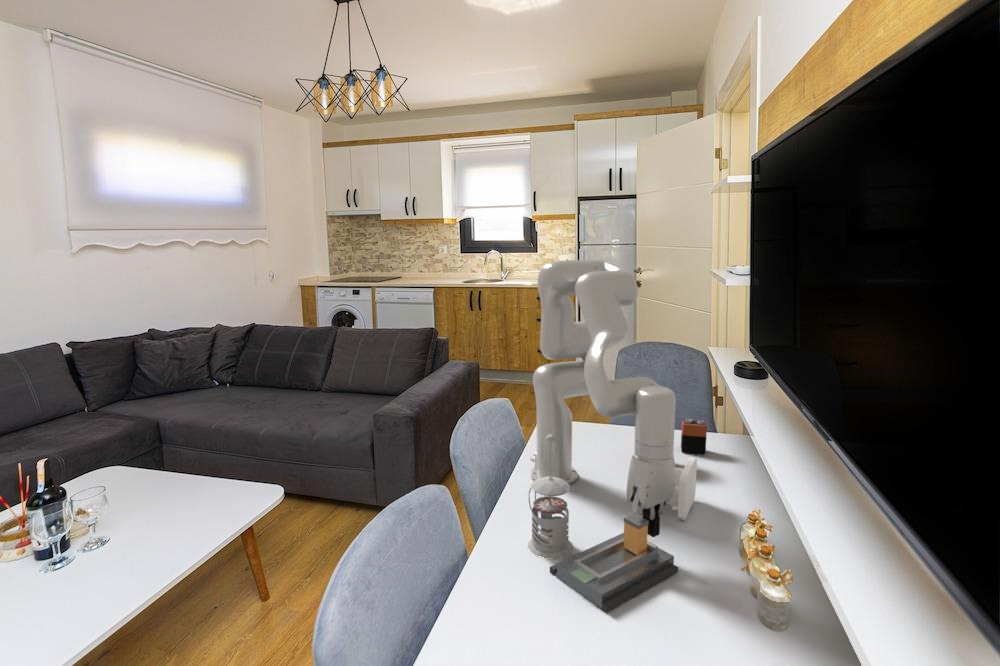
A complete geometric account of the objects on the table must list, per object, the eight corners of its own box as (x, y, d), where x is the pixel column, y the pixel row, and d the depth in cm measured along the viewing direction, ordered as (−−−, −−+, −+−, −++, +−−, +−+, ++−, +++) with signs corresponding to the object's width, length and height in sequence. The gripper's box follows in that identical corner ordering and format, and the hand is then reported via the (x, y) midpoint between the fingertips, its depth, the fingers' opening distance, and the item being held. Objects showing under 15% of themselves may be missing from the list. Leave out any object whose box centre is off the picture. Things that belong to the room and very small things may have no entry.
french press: (545, 564, 115) (545, 447, 111) (513, 538, 125) (512, 429, 121) (582, 549, 121) (584, 437, 116) (549, 526, 130) (549, 421, 126)
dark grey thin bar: (601, 609, 101) (601, 603, 101) (672, 569, 113) (673, 564, 113) (606, 613, 101) (606, 606, 100) (677, 572, 112) (678, 567, 112)
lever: (622, 547, 115) (623, 517, 114) (632, 542, 117) (633, 513, 116) (637, 555, 112) (638, 525, 111) (647, 550, 114) (648, 520, 113)
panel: (556, 577, 111) (556, 559, 110) (627, 543, 123) (628, 526, 122) (601, 610, 101) (601, 589, 101) (674, 569, 113) (674, 551, 112)
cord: (549, 572, 113) (549, 566, 112) (619, 539, 124) (619, 534, 124) (553, 575, 112) (553, 569, 111) (623, 541, 123) (623, 536, 123)
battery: (680, 448, 175) (682, 416, 174) (703, 449, 174) (705, 418, 172) (681, 453, 171) (683, 421, 169) (705, 455, 170) (707, 423, 168)
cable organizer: (684, 527, 129) (686, 479, 127) (637, 516, 134) (639, 470, 132) (695, 499, 142) (698, 455, 140) (653, 491, 147) (654, 448, 145)
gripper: (662, 435, 121) (659, 515, 124) (613, 451, 112) (611, 537, 116) (693, 445, 115) (688, 529, 118) (643, 463, 106) (640, 554, 110)
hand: (650, 533), depth 117 cm, fingers closed
